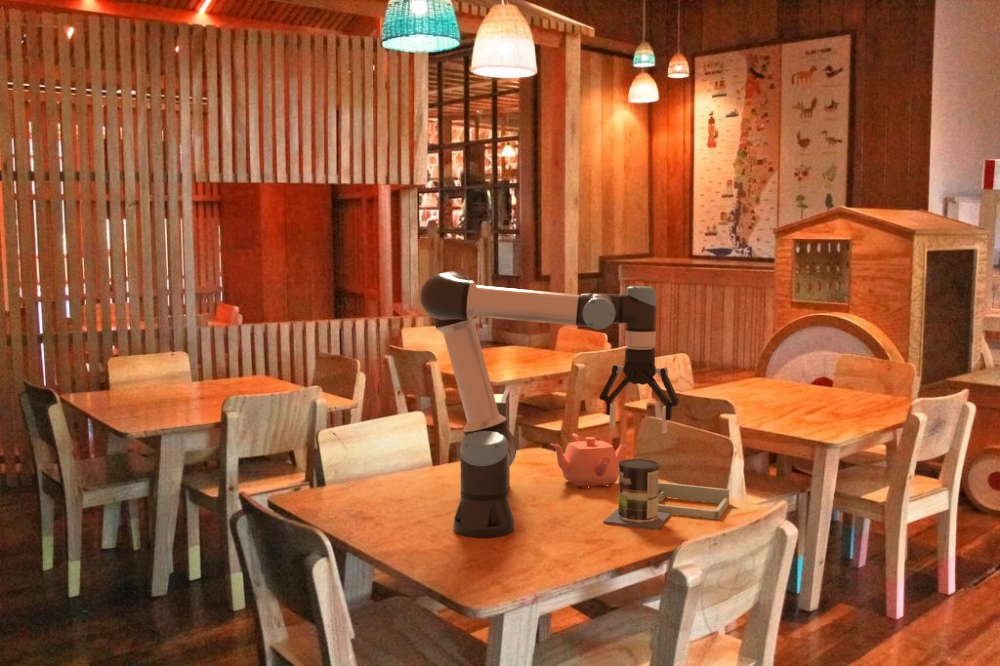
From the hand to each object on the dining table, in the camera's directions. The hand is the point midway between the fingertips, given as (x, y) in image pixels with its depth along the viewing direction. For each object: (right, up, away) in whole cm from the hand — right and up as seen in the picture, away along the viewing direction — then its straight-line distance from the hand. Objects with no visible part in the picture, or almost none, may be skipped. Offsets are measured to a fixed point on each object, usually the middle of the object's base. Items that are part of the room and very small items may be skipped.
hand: (638, 430), depth 243 cm
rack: (+12, -22, +14) cm, 29 cm away
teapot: (-9, -20, +38) cm, 44 cm away
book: (-38, -21, +25) cm, 50 cm away
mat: (0, -23, +2) cm, 23 cm away
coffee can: (0, -23, +2) cm, 23 cm away
